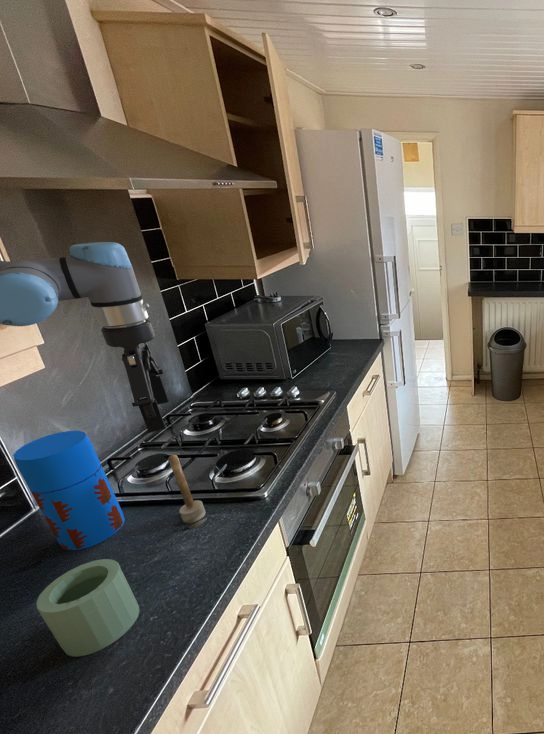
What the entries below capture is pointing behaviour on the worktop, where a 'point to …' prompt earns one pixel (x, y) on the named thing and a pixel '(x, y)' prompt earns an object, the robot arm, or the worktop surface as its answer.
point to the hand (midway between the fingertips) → (159, 416)
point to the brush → (187, 496)
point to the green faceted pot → (89, 607)
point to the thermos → (70, 488)
